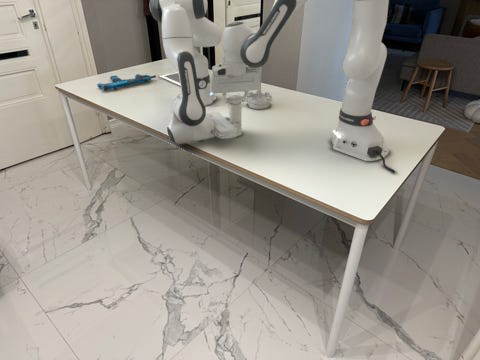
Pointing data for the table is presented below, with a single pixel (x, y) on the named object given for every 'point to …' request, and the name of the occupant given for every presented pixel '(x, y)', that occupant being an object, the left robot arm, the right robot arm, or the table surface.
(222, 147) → the table surface
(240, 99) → the lid
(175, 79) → the tablet
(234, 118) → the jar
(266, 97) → the flag stand
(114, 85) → the submachine gun
